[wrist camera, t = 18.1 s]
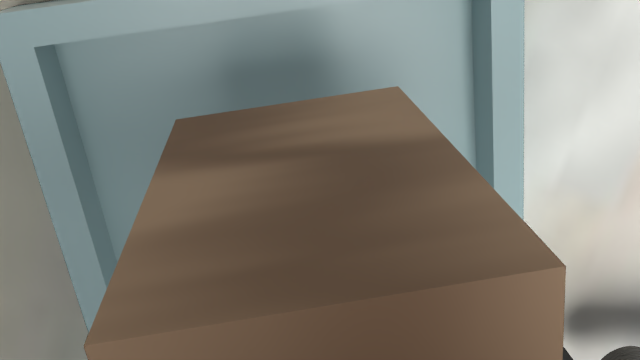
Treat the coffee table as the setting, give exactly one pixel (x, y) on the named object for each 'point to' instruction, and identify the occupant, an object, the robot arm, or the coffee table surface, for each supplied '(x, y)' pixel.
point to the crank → (624, 354)
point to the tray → (239, 90)
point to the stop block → (327, 245)
